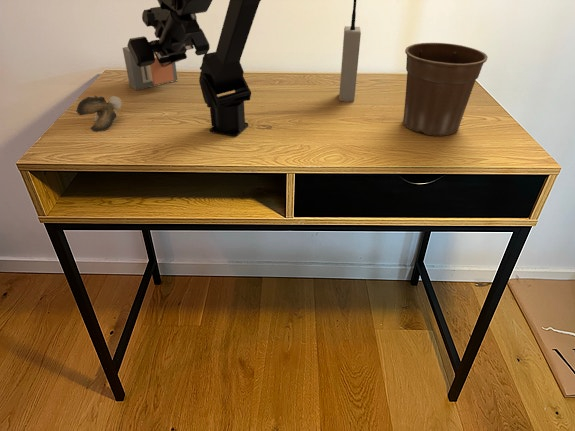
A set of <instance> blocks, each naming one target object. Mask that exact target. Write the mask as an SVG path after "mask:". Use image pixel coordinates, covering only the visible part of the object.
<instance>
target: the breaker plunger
mask: <svg viewBox="0 0 575 431" xmlns="http://www.w3.org/2000/svg"><path fill="white" fill-rule="evenodd" d="M154 55H155V54H154ZM144 71H145V77H146V78H148V79H150V80H151V81H153V84H160V83H164V82H169V81H173V80H174V76H173V69H172V64H171V65H168V66H166V67H162V66H161V64H160V63H159V62H158V60H157V58H156V56H155V62H154V63H153V64H151V65H148V66H144Z"/></svg>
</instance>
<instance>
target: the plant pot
mask: <svg viewBox="0 0 575 431" xmlns="http://www.w3.org/2000/svg"><path fill="white" fill-rule="evenodd" d="M404 53H405V54H406V66H405V69H406V73H407V74H406V85H405V95H404V96H405V97H404V98H405V99H404V109H403V110H404V111H403V118H402V121H403V124H404V126H405V127H406V128H407V129H409V130H411V131H412V132H416V133H419V132H422V133H424V134H425V135H427V136H436V137H437V136H438V137H441V136H449V135H453V134H456V133H457V131H458V130H459V129H460V125H461V122H462V121H463V120H462V119H463V116H464V114H465V112H466V108H467V107H468V106H467V105H468V103H469V100H470V97H471V94H472V92H473V88H474V87H475V83H476V80H477V79H478V78H479V76H480V74H481V71H482V68H483V65H484V64H485V63H486V62H487V60H488V58H489V57H488V55H487V53H485V52H484V51H481V50H479V49H476V48H474V47H470V46H466V45H462V44H454V43H446V42H421V43H419V42H418V43H414V44H411V45H408V46H406V48H405V51H404Z"/></svg>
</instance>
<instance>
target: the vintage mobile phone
mask: <svg viewBox="0 0 575 431" xmlns="http://www.w3.org/2000/svg"><path fill="white" fill-rule="evenodd" d="M352 4H353V6H352V14H351V21H350V22H351V23H350V26H347V25H345V26H344V28H343V31H344V32H343V40H342V41H343V42H342V56H341V69H340V79H339V80H340V82H339V92H338V93H339V94H338V95H339V96H338V98H339V99H338V100H339V102H351V103H352V102H353V103H354V101H355V98H356V88H357V76H358V67H359V55H360V46H361V38H362V37H361V34H362V32H361V27H360V26H356V18H357V16H356V14H357V12H356V9H357V0H353V3H352Z"/></svg>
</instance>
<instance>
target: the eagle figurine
mask: <svg viewBox="0 0 575 431" xmlns="http://www.w3.org/2000/svg"><path fill="white" fill-rule="evenodd" d="M121 108H122V99H121V98H120V97H118V96H117V95H116V96H115V95H112V96H110V98H109V100H108V102H107V100H106V99H105V97H104V96H97V95H94V97H93V96H92V97H91V96H86V98H85V97H84V98H83V99H82V100H81V101H80V102H79V103H78V104H77V107H76V111H75V112H76V113H77V114H79V116H86V115H92V114H95V113H96V114H95V116H94V118H93V120H94V124H92V126H91V127H90V130H91V131H92V132H95V133H97V132H102V131H103V132H104V131H106V130H107V131H108V129H109V128H111V127H112V125H113V123H114V121H115V120H116V119H117V113H116V112H115V110H121Z"/></svg>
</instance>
